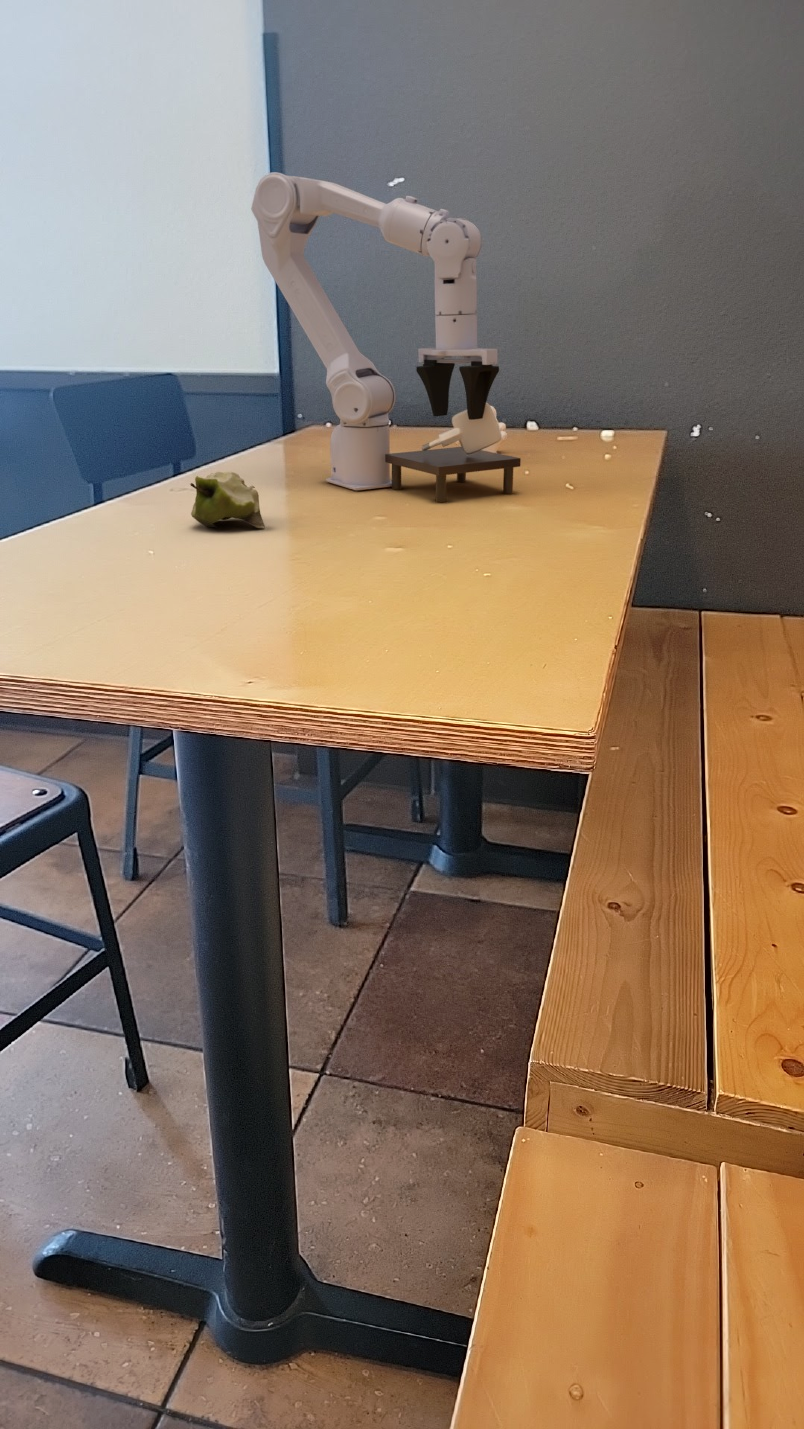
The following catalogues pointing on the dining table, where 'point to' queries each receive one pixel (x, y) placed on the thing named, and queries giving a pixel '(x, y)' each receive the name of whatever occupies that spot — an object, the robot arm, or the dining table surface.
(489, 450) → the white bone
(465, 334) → the robot arm
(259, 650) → the dining table surface
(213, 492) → the fruit
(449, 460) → the stool
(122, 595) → the dining table surface
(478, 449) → the power adapter
